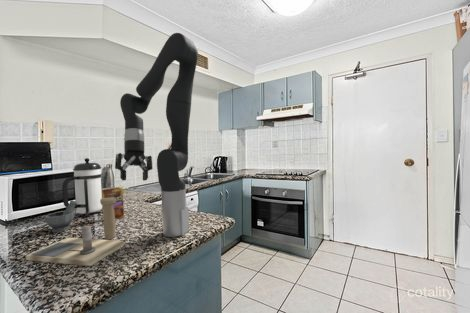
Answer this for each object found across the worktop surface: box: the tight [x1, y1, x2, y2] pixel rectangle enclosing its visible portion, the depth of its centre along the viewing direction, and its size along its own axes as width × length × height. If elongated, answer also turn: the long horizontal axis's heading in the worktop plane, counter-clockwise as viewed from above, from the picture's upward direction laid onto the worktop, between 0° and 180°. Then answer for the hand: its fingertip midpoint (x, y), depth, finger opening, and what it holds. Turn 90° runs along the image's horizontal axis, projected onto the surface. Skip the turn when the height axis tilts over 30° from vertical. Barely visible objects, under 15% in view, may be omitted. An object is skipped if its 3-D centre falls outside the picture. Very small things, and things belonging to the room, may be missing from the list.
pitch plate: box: [25, 225, 125, 267], centre depth 74 cm, size 24×14×10 cm, turn 78°
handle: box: [100, 197, 116, 240], centre depth 85 cm, size 5×6×15 cm
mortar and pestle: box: [44, 199, 77, 233], centre depth 97 cm, size 11×9×12 cm
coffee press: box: [61, 157, 103, 218], centre depth 119 cm, size 17×16×30 cm
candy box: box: [102, 186, 125, 220], centre depth 110 cm, size 9×4×15 cm, turn 123°
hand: (134, 180), depth 90 cm, fingers open, 8 cm apart
